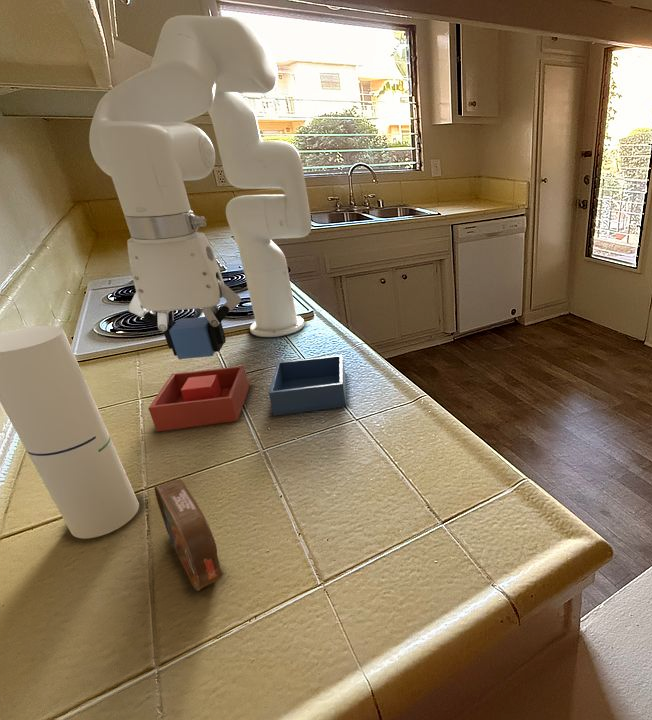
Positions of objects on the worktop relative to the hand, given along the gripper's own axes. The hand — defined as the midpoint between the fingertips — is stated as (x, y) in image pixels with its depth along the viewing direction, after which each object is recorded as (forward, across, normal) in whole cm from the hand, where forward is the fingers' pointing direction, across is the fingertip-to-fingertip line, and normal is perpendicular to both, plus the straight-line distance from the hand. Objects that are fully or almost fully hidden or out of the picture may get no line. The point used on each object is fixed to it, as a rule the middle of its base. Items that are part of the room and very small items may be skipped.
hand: (199, 348), depth 70 cm
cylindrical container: (+15, +10, +17) cm, 25 cm away
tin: (+15, -3, +27) cm, 31 cm away
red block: (+14, +5, -8) cm, 17 cm away
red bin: (+15, +5, -8) cm, 18 cm away
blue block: (0, 0, 0) cm, 0 cm away
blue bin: (+15, -13, -9) cm, 22 cm away
